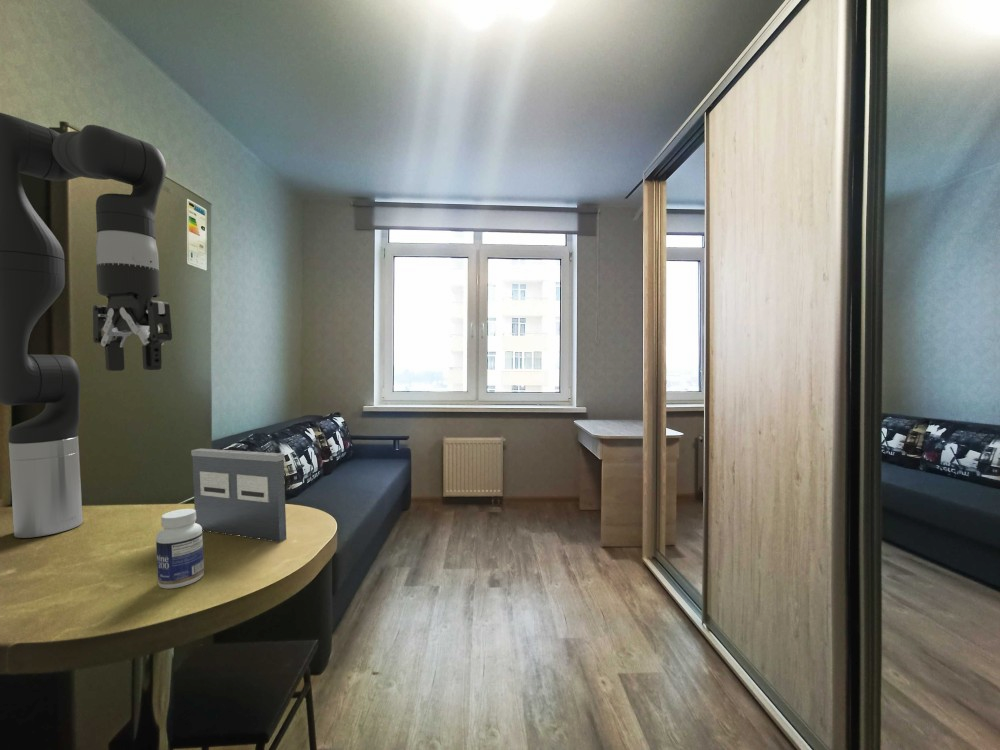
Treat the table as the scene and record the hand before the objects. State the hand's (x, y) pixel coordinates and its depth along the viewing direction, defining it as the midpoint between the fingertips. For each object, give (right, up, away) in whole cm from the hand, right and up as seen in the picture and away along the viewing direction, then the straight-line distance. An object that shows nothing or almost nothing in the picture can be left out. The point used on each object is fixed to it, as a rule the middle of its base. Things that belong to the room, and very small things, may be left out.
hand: (133, 370), depth 70 cm
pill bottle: (+12, -30, -6) cm, 33 cm away
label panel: (+10, -30, +11) cm, 33 cm away
